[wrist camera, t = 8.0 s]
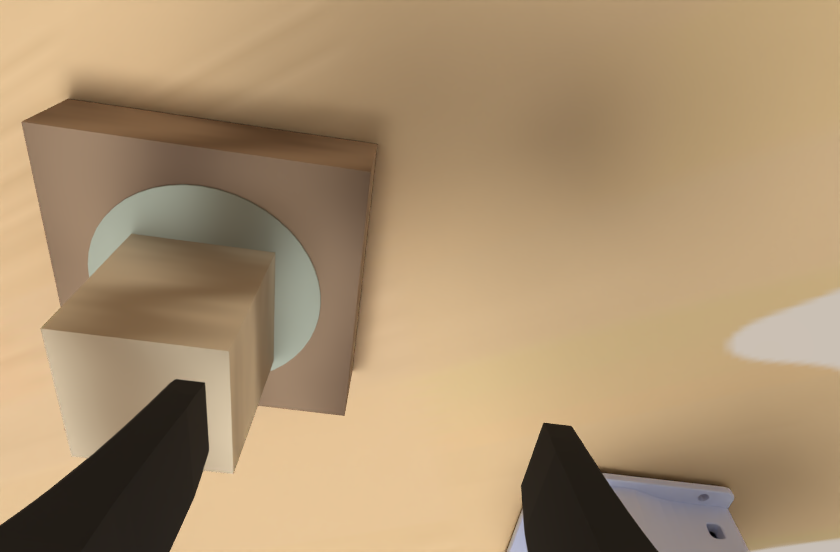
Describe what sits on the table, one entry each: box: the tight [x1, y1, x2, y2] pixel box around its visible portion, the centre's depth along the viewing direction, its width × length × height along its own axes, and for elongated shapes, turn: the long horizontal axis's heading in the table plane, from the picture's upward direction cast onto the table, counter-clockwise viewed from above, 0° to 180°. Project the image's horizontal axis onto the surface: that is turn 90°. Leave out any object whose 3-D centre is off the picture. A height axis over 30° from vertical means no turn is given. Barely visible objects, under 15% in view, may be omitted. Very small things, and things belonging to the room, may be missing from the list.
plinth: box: [22, 99, 377, 416], centre depth 21 cm, size 10×10×3 cm
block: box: [41, 234, 275, 474], centre depth 18 cm, size 4×4×5 cm
